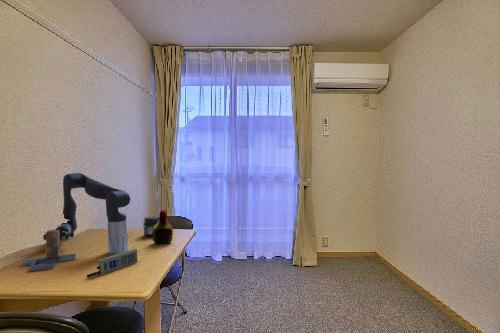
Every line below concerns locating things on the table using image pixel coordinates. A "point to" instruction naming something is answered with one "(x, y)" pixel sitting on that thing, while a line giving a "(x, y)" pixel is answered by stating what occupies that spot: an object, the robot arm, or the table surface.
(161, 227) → the bottle
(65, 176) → the robot arm
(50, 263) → the keeper
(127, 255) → the handheld radio
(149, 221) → the supplement container
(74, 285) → the table surface
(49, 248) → the block
